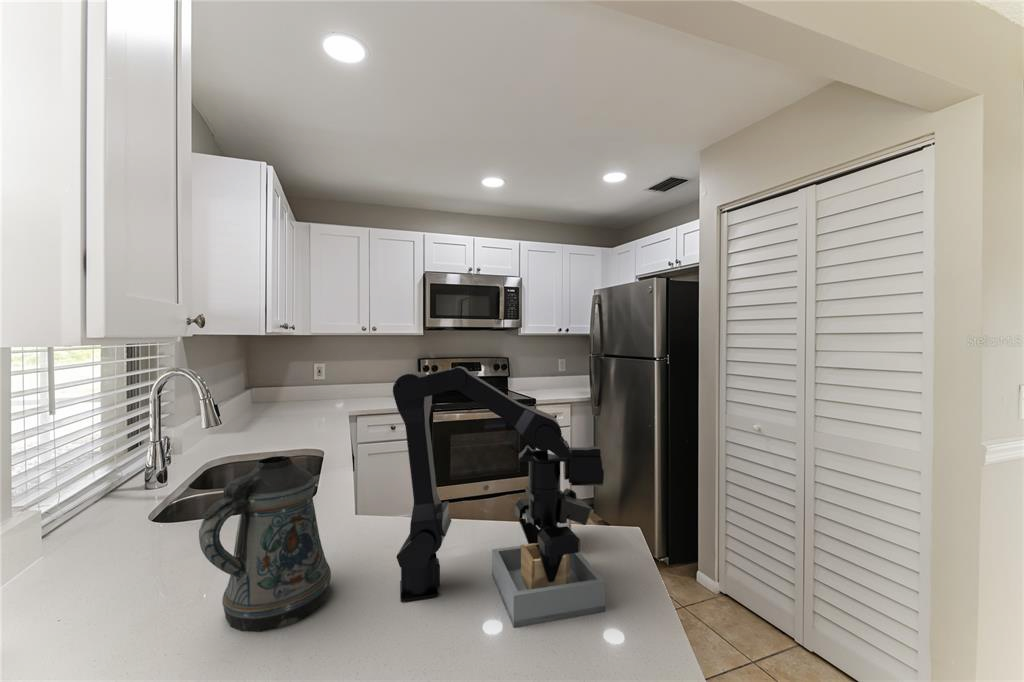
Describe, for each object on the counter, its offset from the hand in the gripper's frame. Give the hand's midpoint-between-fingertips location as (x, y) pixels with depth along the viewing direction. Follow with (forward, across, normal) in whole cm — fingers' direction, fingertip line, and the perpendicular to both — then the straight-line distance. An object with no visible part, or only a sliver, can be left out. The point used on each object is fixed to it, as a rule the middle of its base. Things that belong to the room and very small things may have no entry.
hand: (544, 571), depth 78 cm
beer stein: (+4, +8, +46) cm, 47 cm away
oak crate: (+2, 0, 0) cm, 2 cm away
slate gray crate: (+4, 0, 0) cm, 4 cm away
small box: (+4, +16, -9) cm, 19 cm away
